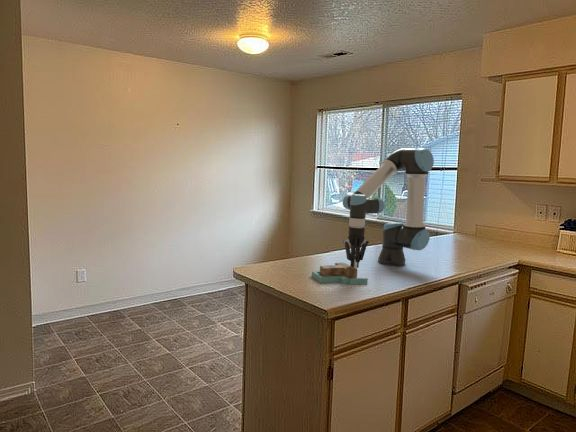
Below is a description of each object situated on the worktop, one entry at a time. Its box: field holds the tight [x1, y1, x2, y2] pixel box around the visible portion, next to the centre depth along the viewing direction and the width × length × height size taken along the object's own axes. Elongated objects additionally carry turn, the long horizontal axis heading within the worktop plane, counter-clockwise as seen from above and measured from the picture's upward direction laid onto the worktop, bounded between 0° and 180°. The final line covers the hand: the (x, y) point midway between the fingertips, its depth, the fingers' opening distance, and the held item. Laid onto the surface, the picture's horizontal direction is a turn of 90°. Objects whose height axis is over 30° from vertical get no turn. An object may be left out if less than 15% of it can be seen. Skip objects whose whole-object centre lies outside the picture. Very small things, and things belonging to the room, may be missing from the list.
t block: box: [319, 262, 358, 278], centre depth 206 cm, size 15×14×6 cm
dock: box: [311, 270, 368, 285], centre depth 207 cm, size 22×21×2 cm
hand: (353, 274), depth 209 cm, fingers closed
